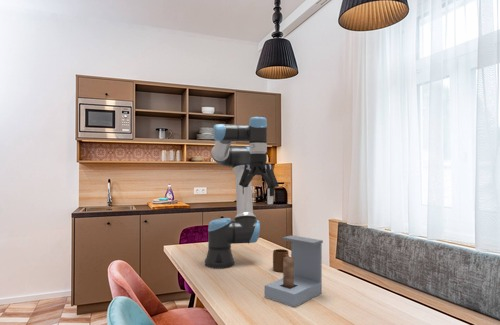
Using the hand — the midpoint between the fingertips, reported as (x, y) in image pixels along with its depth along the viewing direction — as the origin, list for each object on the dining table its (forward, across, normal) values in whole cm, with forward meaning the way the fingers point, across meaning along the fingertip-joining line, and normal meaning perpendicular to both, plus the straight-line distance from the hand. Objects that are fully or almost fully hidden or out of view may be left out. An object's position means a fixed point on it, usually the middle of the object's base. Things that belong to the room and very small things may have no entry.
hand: (257, 203), depth 145 cm
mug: (+35, -4, +23) cm, 42 cm away
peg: (+35, +18, -2) cm, 39 cm away
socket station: (+35, +18, +1) cm, 39 cm away
